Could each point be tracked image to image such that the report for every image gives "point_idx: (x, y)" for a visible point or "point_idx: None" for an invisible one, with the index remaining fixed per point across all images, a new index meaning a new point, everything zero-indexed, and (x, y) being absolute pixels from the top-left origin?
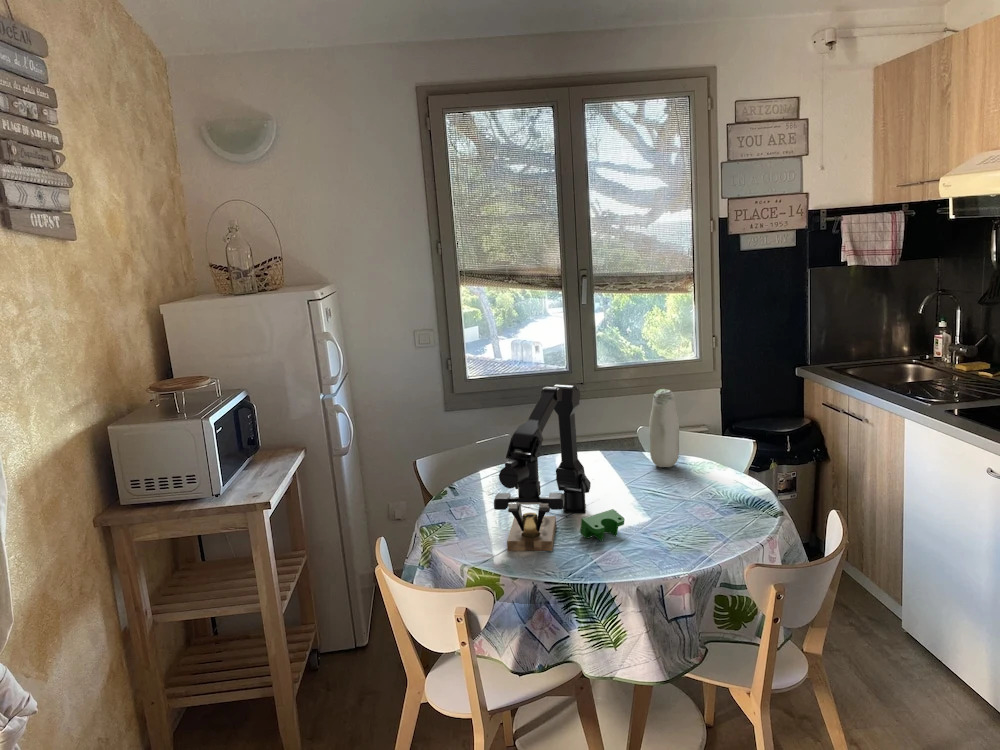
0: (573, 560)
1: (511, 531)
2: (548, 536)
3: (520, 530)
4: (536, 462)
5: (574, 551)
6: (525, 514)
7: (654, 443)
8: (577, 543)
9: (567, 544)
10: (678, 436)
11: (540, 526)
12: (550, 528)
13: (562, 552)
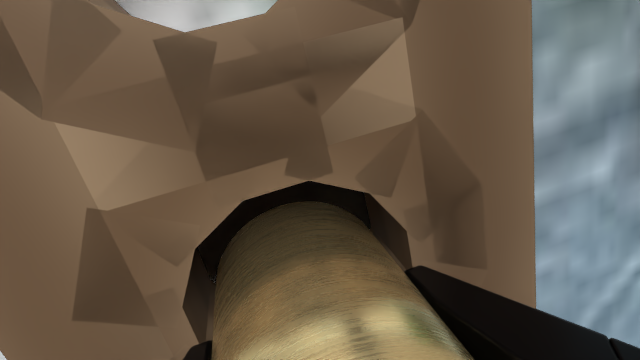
0: (599, 332)
1: (4, 316)
2: (500, 274)
3: (118, 240)
4: None
5: (607, 228)
6: None
7: None
8: (631, 95)
9: (563, 136)
10: None
11: (351, 22)
12: (493, 57)
13: (537, 268)
